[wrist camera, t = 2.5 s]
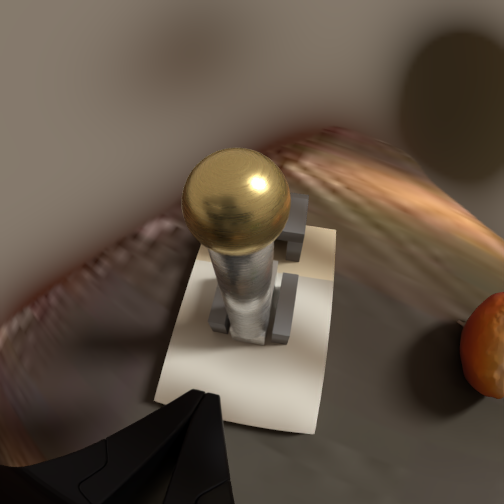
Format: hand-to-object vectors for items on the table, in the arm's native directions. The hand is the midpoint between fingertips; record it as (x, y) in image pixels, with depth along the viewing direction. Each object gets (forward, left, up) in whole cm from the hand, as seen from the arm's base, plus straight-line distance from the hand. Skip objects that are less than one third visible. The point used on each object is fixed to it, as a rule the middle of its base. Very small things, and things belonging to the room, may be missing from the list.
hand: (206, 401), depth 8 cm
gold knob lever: (+7, 0, -9) cm, 11 cm away
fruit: (+5, -19, -11) cm, 23 cm away
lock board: (+7, 0, -11) cm, 13 cm away
